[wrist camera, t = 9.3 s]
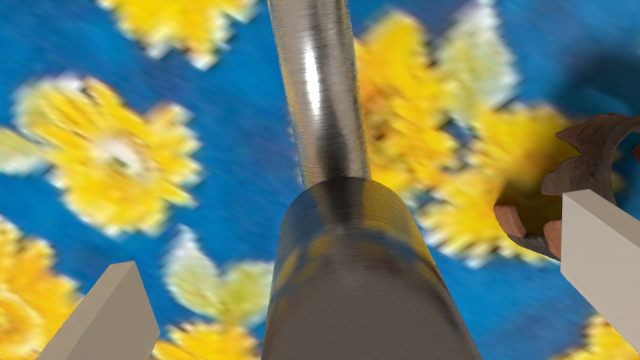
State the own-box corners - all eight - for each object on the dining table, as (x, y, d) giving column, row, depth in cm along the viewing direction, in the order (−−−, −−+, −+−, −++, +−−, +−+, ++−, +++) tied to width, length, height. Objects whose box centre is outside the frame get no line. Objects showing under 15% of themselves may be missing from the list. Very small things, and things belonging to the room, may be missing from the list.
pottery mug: (456, 177, 29) (554, 156, 21) (550, 107, 32) (668, 66, 24) (550, 329, 30) (679, 363, 22) (634, 248, 33) (776, 252, 25)
